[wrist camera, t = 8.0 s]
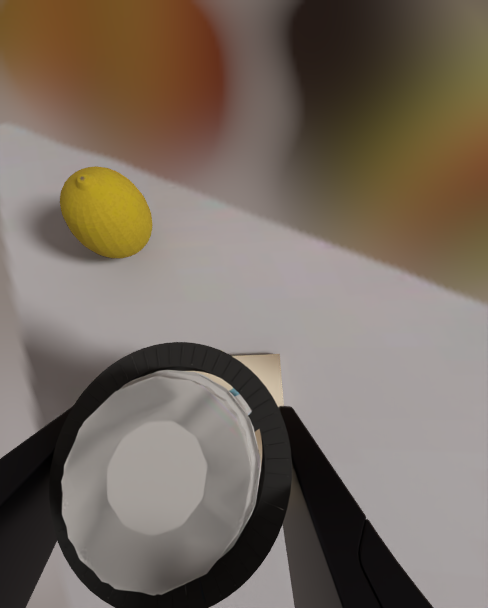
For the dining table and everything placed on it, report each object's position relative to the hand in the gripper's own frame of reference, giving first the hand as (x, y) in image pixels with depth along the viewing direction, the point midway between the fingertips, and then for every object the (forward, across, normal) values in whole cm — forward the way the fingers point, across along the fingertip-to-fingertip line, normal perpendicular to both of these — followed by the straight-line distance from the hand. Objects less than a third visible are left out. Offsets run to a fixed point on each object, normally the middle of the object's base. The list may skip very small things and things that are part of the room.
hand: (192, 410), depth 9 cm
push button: (+4, 0, +6) cm, 7 cm away
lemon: (+18, +8, 0) cm, 20 cm away
